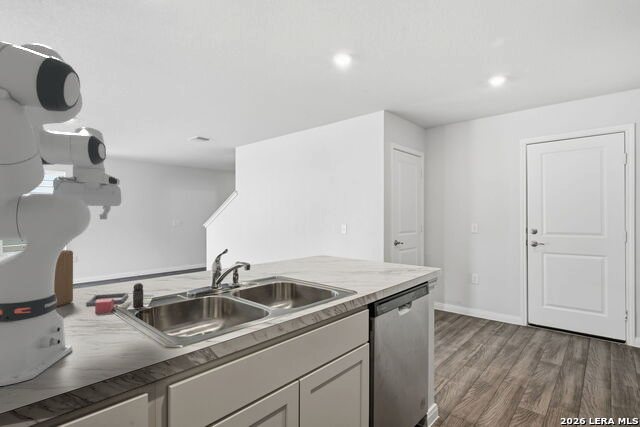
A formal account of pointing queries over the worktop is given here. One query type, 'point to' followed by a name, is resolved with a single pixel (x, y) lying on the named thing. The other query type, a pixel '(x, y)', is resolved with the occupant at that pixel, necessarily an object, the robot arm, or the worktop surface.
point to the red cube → (104, 305)
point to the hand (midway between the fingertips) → (89, 219)
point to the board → (146, 301)
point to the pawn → (138, 295)
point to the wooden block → (64, 278)
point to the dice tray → (123, 295)
